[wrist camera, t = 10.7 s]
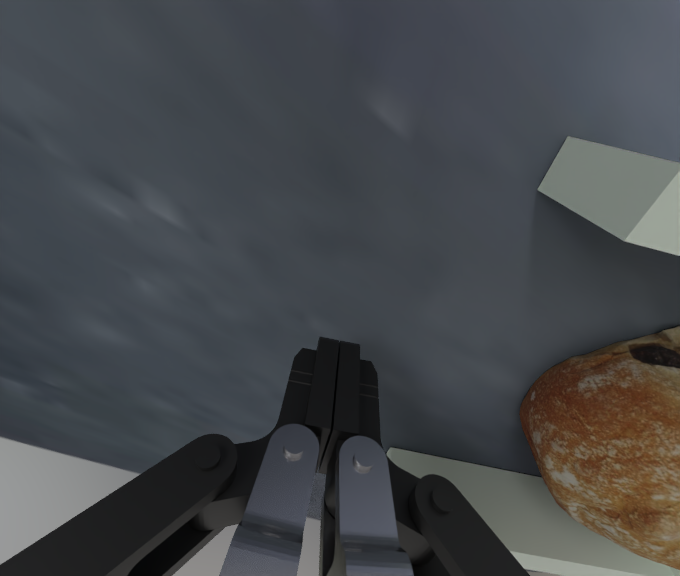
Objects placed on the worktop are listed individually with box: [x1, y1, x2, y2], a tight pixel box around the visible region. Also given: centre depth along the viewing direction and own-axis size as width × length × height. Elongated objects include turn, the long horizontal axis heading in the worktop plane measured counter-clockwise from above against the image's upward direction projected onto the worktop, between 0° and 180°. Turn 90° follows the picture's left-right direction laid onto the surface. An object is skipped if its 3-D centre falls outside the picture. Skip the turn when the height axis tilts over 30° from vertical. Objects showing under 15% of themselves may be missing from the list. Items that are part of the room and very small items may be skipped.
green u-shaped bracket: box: [386, 136, 680, 576], centre depth 13 cm, size 18×16×4 cm
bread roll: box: [519, 326, 680, 570], centre depth 13 cm, size 10×10×8 cm
